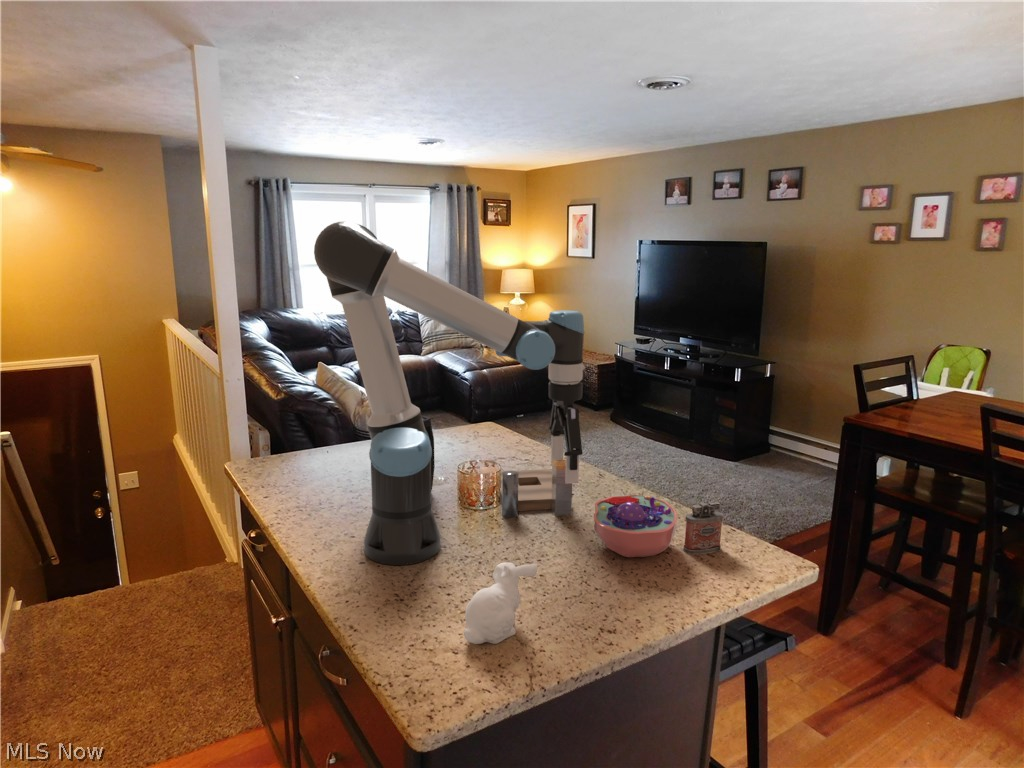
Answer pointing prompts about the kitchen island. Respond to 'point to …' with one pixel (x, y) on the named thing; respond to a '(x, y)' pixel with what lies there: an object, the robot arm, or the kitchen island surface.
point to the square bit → (560, 490)
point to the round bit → (510, 494)
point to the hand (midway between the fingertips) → (564, 472)
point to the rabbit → (496, 605)
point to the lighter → (703, 529)
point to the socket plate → (533, 489)
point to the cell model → (635, 524)
